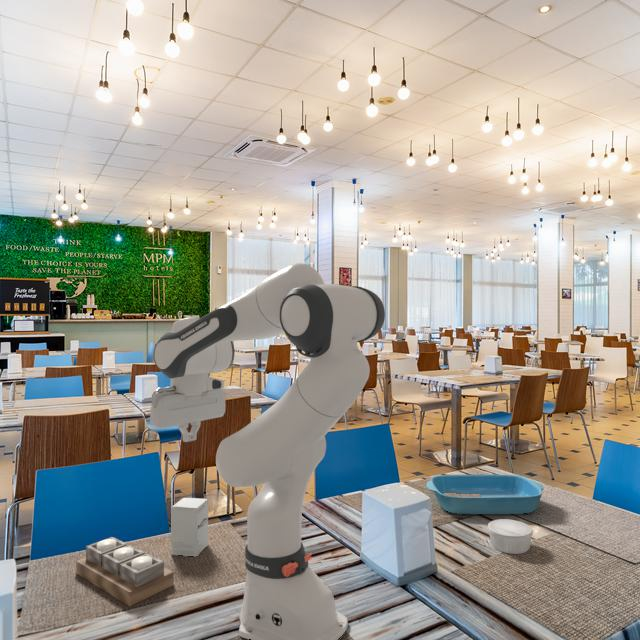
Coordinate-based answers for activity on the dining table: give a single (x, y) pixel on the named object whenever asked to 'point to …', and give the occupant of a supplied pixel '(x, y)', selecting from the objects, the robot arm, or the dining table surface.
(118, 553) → the knob middle
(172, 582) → the knob mount
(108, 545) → the knob far
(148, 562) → the knob near
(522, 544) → the ramekin
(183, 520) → the supplement box
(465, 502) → the casserole dish
